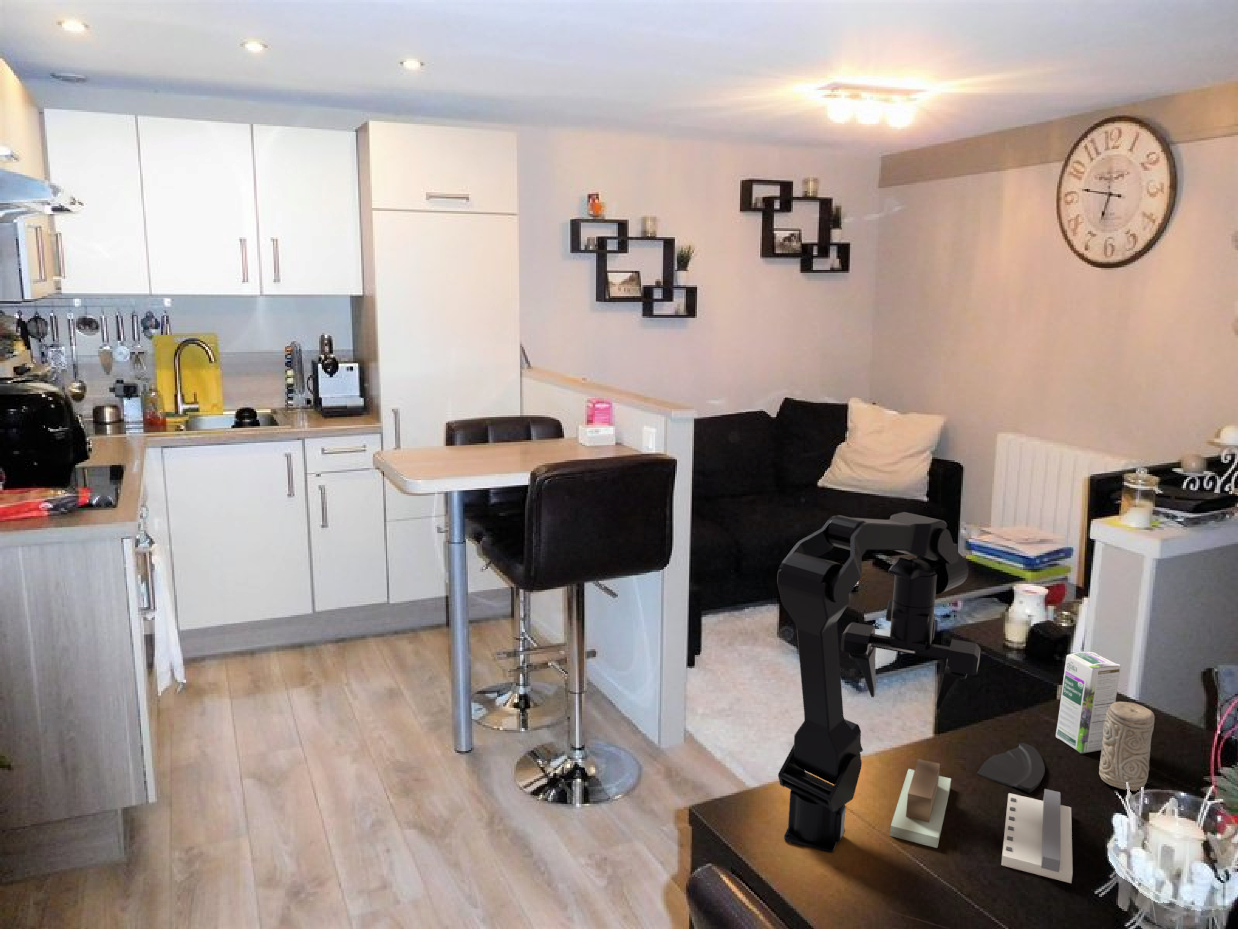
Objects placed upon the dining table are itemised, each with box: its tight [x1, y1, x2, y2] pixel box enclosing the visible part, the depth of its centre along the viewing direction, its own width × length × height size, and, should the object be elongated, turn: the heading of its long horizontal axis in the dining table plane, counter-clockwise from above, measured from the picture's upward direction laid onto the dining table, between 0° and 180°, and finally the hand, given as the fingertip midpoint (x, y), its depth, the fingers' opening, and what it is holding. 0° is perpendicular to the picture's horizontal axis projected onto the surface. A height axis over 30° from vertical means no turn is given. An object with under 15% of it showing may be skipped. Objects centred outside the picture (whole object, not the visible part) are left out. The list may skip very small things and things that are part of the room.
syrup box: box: [1055, 651, 1122, 754], centre depth 146 cm, size 6×6×14 cm
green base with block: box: [889, 758, 952, 849], centre depth 128 cm, size 6×16×5 cm, turn 155°
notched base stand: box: [1001, 788, 1074, 884], centre depth 122 cm, size 8×17×3 cm, turn 155°
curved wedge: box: [976, 741, 1046, 794], centre depth 140 cm, size 8×14×2 cm, turn 137°
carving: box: [1098, 701, 1155, 792], centre depth 135 cm, size 6×8×12 cm
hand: (905, 702), depth 134 cm, fingers open, 9 cm apart
